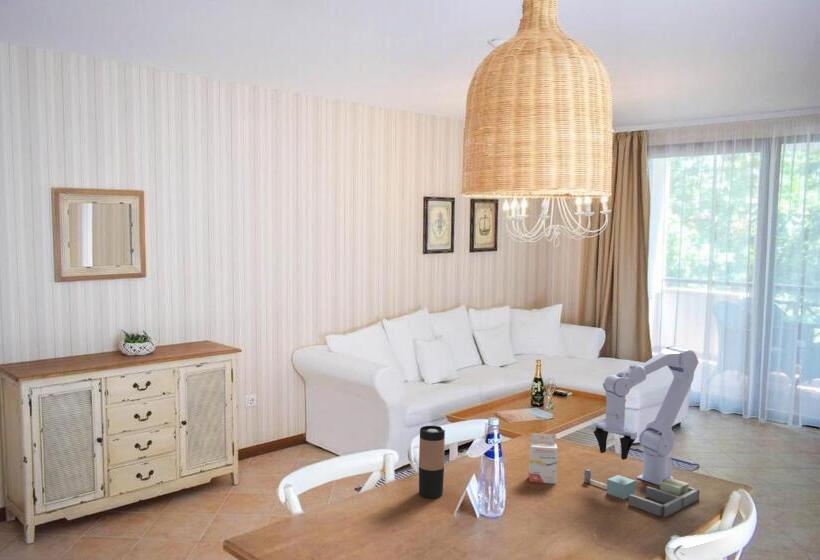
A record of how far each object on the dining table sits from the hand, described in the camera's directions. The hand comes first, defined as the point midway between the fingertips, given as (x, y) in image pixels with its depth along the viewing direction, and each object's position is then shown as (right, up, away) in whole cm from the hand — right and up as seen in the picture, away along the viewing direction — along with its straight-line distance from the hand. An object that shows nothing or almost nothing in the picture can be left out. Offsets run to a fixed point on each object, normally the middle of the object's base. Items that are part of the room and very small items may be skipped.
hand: (613, 455), depth 211 cm
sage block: (+15, -11, -10) cm, 21 cm away
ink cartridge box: (-22, -9, +3) cm, 24 cm away
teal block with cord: (-3, -10, -3) cm, 11 cm away
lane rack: (+12, -11, -13) cm, 20 cm away
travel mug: (-58, -9, -10) cm, 60 cm away
